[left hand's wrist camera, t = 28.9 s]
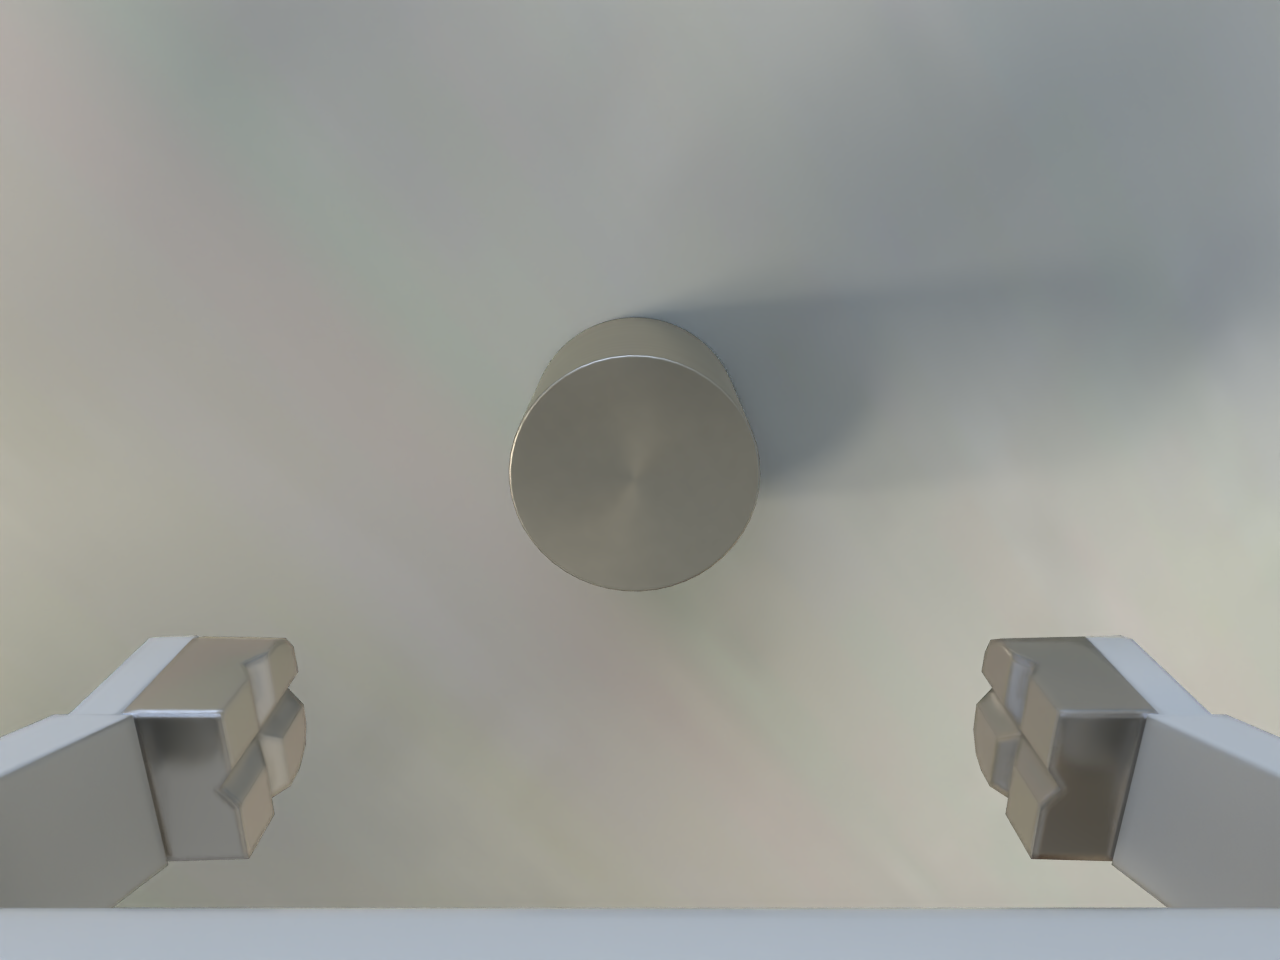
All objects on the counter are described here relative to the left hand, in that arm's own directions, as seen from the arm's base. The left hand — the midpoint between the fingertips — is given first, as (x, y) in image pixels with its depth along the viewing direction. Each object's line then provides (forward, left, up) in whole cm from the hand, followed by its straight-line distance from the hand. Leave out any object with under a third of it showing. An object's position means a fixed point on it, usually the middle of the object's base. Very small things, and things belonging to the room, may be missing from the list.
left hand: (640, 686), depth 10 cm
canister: (0, 0, -12) cm, 12 cm away
